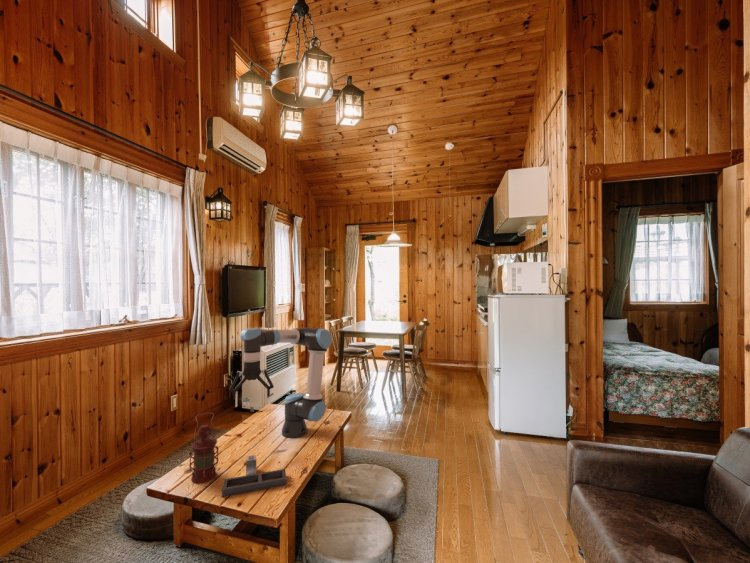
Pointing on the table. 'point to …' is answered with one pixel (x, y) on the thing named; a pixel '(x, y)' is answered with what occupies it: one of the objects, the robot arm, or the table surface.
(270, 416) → the table surface
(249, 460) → the block
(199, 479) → the lantern
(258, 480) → the dark grey divided frame
